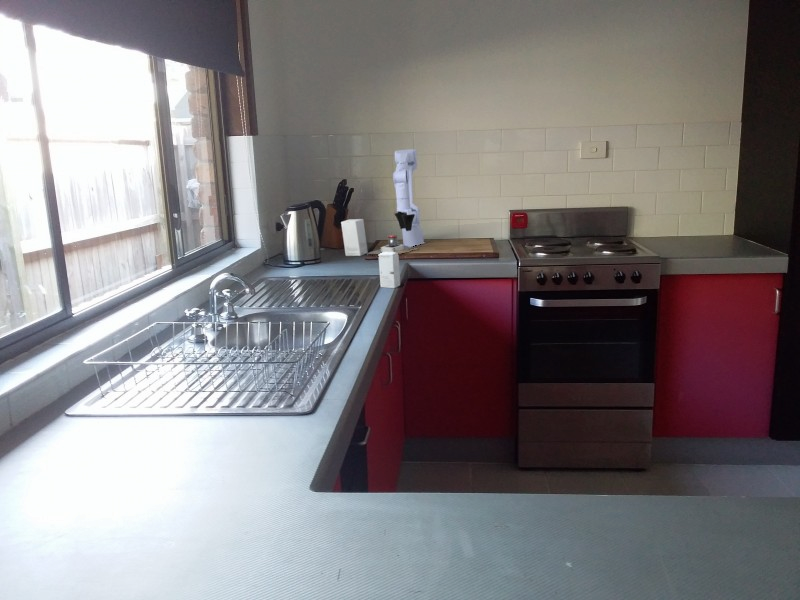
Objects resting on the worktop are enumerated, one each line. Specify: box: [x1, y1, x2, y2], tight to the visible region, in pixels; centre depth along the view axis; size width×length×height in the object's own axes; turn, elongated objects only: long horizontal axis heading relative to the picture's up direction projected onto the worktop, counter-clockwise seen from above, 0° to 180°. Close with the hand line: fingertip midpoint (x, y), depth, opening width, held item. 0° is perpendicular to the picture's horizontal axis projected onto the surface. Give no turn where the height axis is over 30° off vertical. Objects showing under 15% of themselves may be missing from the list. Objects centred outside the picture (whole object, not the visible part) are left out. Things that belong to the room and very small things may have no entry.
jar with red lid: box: [387, 234, 399, 247], centre depth 305 cm, size 4×4×6 cm
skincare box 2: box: [378, 252, 401, 289], centre depth 244 cm, size 6×4×12 cm
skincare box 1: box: [340, 218, 369, 257], centre depth 308 cm, size 8×7×16 cm
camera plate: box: [366, 241, 419, 256], centre depth 307 cm, size 18×14×3 cm
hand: (405, 229), depth 303 cm, fingers open, 7 cm apart
